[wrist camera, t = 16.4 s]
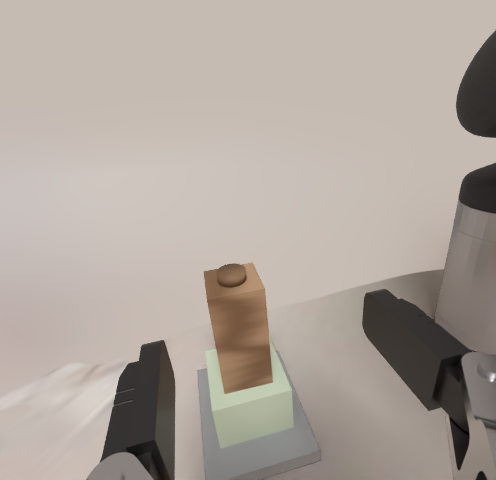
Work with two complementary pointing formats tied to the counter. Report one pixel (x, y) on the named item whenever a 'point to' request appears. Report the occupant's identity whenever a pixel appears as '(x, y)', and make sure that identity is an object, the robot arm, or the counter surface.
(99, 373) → the counter surface
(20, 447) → the counter surface
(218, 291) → the walnut pillar block
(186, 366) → the counter surface
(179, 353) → the counter surface
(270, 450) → the foundation
